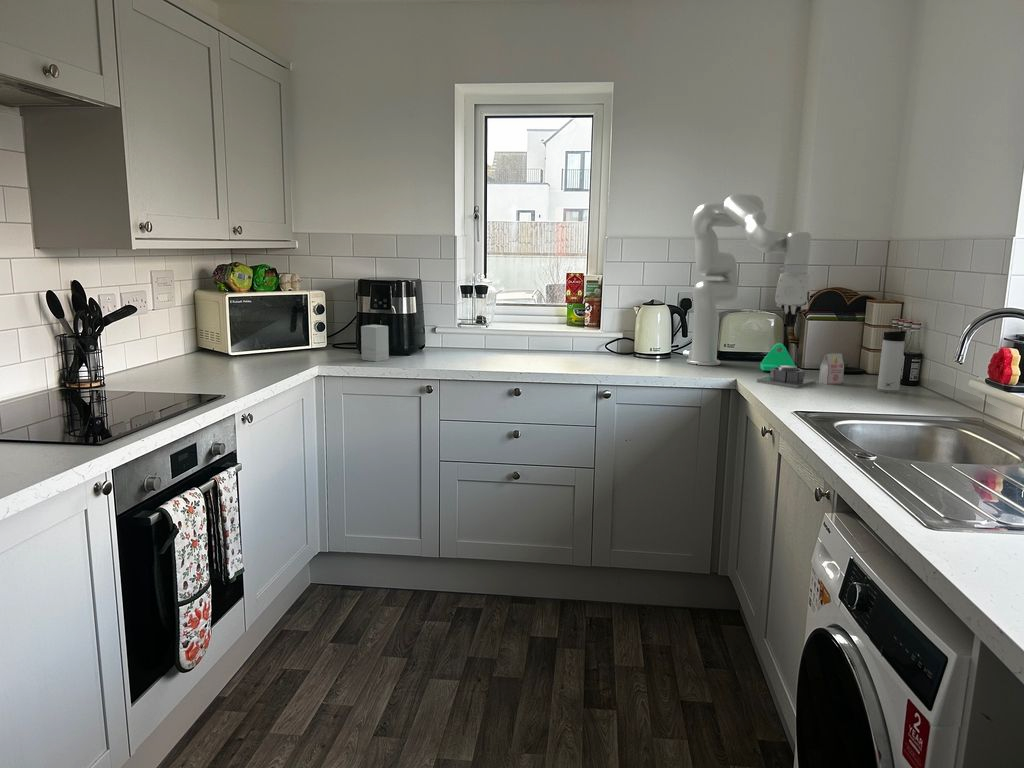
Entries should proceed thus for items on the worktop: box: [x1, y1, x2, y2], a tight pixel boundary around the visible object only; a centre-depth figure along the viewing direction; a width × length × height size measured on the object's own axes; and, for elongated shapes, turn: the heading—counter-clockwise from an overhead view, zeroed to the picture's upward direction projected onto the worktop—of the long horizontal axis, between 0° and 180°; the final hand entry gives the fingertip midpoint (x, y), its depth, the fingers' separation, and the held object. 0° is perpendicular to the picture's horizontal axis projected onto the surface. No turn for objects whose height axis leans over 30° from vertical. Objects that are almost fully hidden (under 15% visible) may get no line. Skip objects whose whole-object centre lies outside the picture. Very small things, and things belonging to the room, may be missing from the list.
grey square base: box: [756, 367, 817, 389], centre depth 258 cm, size 14×14×4 cm
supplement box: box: [360, 324, 390, 362], centre depth 284 cm, size 7×7×13 cm
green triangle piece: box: [759, 342, 797, 372], centre depth 279 cm, size 12×8×10 cm, turn 77°
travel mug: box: [876, 330, 907, 394], centre depth 244 cm, size 6×7×20 cm
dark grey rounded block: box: [778, 365, 798, 371], centre depth 258 cm, size 6×6×4 cm
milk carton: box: [818, 353, 845, 385], centre depth 259 cm, size 4×7×10 cm, turn 110°
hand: (790, 325), depth 256 cm, fingers closed
